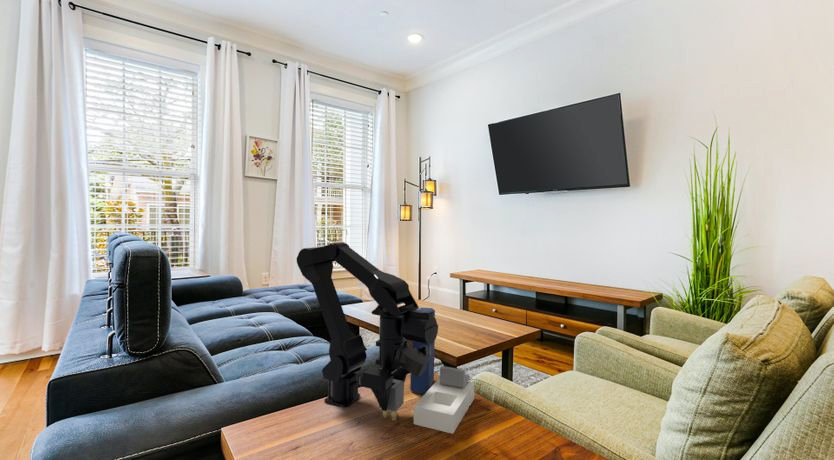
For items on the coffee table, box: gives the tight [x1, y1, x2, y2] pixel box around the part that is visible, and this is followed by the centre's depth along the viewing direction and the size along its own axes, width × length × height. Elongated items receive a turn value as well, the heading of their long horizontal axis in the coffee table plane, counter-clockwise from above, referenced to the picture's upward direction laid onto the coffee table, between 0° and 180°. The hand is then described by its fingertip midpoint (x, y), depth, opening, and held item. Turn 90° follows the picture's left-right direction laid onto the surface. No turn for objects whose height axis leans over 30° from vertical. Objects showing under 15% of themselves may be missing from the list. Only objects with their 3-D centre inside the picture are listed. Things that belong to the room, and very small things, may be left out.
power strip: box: [413, 377, 475, 434], centre depth 91 cm, size 9×17×4 cm, turn 157°
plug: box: [378, 379, 405, 421], centre depth 88 cm, size 4×4×8 cm
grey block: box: [439, 365, 471, 388], centre depth 97 cm, size 6×6×4 cm
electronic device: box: [409, 307, 436, 395], centre depth 104 cm, size 10×5×20 cm, turn 168°
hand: (391, 403), depth 88 cm, fingers open, 6 cm apart
